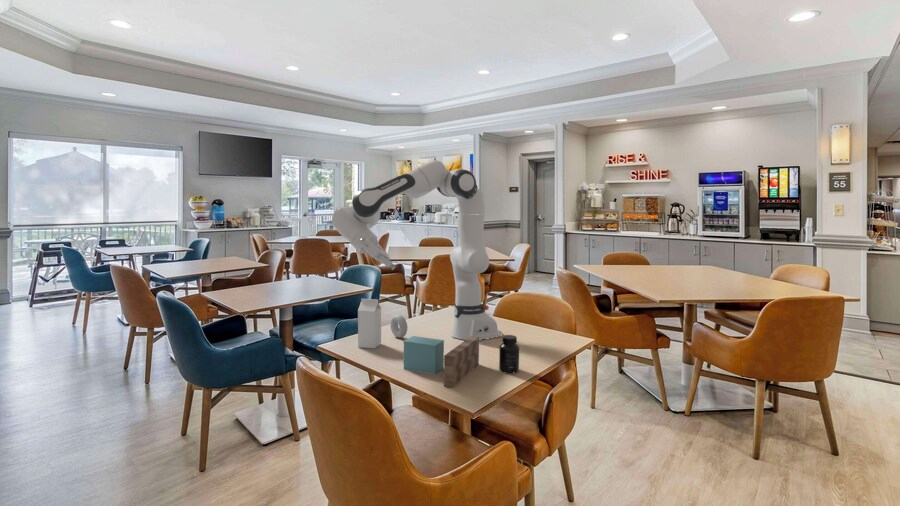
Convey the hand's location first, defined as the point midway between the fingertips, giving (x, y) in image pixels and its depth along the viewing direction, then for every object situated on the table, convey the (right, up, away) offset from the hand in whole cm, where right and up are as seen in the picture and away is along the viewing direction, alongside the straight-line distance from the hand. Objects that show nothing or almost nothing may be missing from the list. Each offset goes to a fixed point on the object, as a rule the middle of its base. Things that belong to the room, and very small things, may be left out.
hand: (391, 267), depth 173 cm
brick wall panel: (+26, -36, -17) cm, 47 cm away
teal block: (+12, -35, -11) cm, 39 cm away
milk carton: (-11, -32, +14) cm, 37 cm away
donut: (0, -31, +26) cm, 40 cm away
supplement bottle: (+42, -36, -12) cm, 56 cm away
